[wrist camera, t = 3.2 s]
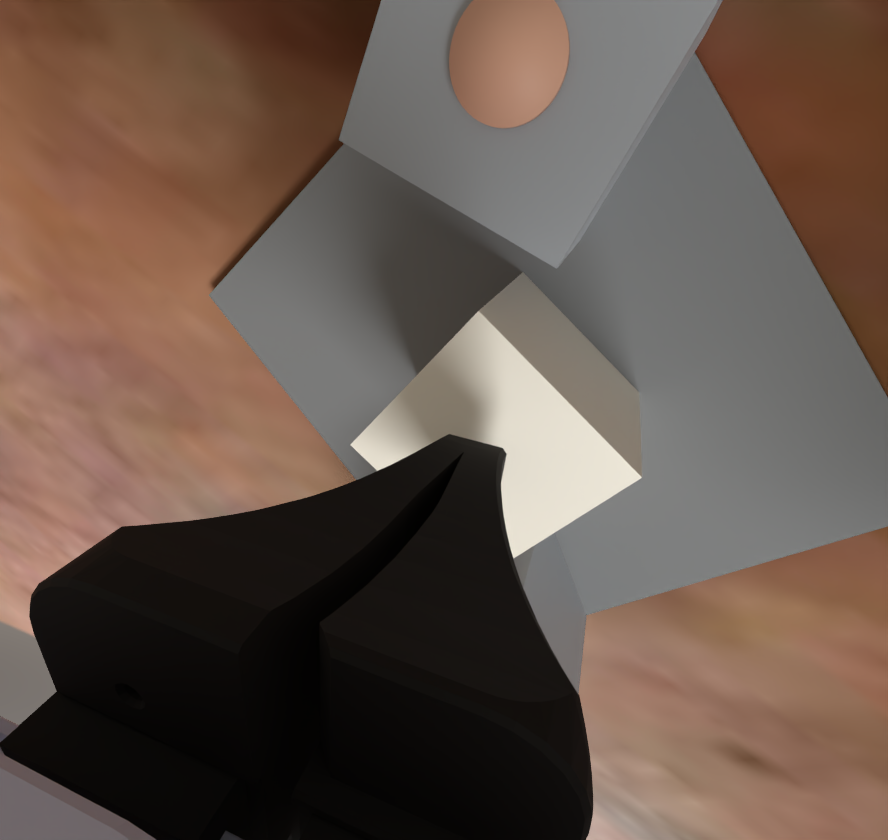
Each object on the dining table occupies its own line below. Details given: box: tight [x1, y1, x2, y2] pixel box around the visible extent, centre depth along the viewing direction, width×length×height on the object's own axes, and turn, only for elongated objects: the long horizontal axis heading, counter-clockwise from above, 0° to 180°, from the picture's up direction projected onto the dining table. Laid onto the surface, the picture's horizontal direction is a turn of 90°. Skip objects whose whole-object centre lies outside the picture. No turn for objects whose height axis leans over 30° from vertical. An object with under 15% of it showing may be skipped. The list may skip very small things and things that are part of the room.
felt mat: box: [209, 52, 888, 615], centre depth 16 cm, size 16×18×1 cm
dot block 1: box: [339, 0, 723, 269], centre depth 11 cm, size 5×5×5 cm
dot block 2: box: [514, 533, 586, 693], centre depth 17 cm, size 5×5×5 cm
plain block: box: [350, 273, 642, 559], centre depth 14 cm, size 5×5×5 cm
